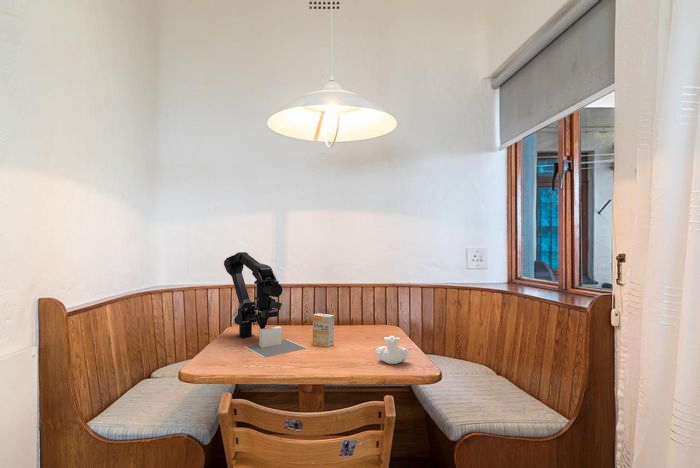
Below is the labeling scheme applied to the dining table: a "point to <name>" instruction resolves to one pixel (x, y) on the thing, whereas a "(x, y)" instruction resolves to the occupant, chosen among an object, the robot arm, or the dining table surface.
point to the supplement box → (323, 330)
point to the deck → (270, 336)
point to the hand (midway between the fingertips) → (262, 330)
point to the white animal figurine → (392, 351)
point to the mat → (276, 348)
